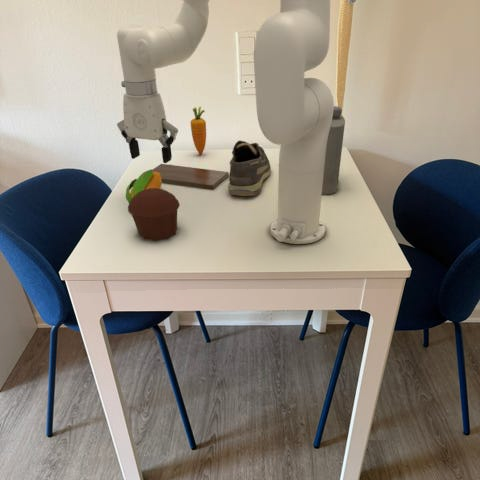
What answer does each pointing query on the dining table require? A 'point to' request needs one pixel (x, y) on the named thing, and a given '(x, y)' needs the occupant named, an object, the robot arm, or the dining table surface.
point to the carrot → (198, 130)
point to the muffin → (154, 213)
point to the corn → (143, 183)
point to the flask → (333, 152)
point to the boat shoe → (248, 169)
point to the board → (190, 176)
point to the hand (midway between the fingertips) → (151, 159)
